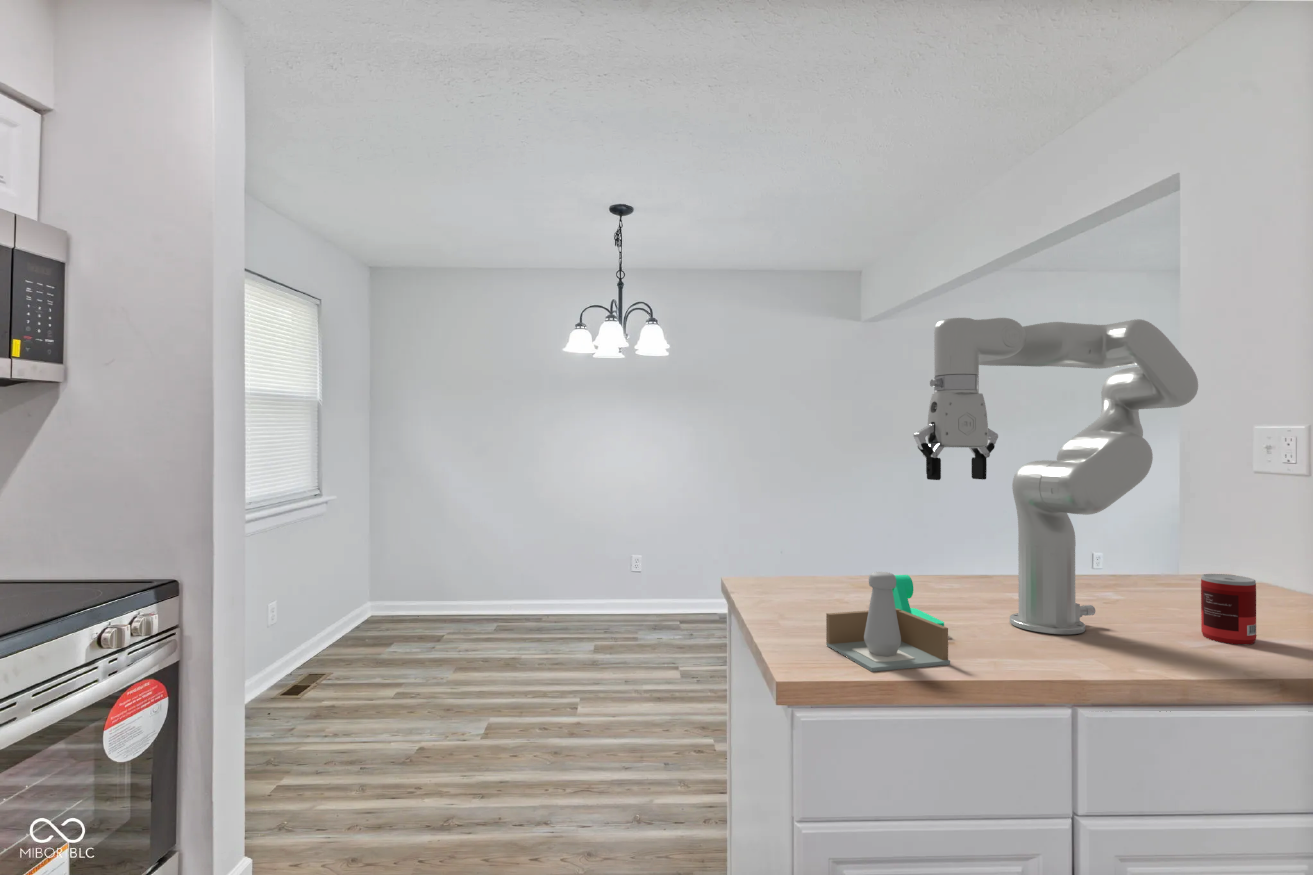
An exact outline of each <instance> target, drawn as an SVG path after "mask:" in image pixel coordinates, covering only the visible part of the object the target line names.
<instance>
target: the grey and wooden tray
mask: <svg viewBox="0 0 1313 875" xmlns="http://www.w3.org/2000/svg"><path fill="white" fill-rule="evenodd" d="M868 611H869V609H868V610H857V611H842V612H841V611H840V612H826V613H825V614H826V618H825V619H826V620H825V621H826V626H825V627H826V631H825V632H826V634H825V635H826V643H825V644H826V645H827V646H828V648H829V647H831V648H832V649H831V648H830V649H831V650H833V649H834V650H835V651H834V650H833V651H834V652H836V651H838V652H839V653H838V652H837V653H838V654H840V653H841V654H840V655H842V654H843V655H844V656H843V655H842V656H843V657H845V656H847V657H848V658H847V657H846V658H847V659H849V658H850V659H851V661H852V660H853V661H852V662H854V661H855V662H854V663H856V664H857V663H858V665H859V666H861V667H863V668H865V669H866V670H868V671H870V672H881V671H882V672H883V671H893V670H902V669H903V670H905V669H915V668H924V667H925V668H926V667H938V666H946V665H951V660H950V659H949V627H947V626H945V625H944V626H942V625H939V624H936V623H934V622H931V621H929V620H926V619H924V618H921V617H918V616H916V615H913V614H911V613H908V612H905V611H901V610H900V609H896V614H897V620H898V625H899V630H900V635H901V644H900V646H899V649H898V651H897V653H896V655H894V656H890V657H885V656H876V655H874V654H872V653H869V651H868V648H867V646H866V643H865V641H864V634H865V628H866V622H867V617H868ZM827 646H826V647H827ZM850 659H849V660H850Z"/></svg>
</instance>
